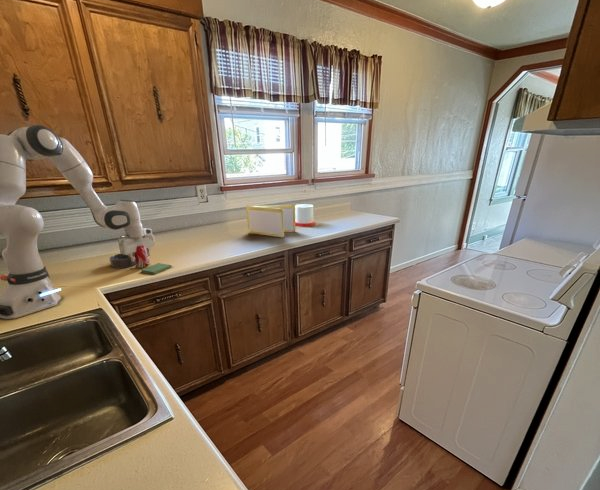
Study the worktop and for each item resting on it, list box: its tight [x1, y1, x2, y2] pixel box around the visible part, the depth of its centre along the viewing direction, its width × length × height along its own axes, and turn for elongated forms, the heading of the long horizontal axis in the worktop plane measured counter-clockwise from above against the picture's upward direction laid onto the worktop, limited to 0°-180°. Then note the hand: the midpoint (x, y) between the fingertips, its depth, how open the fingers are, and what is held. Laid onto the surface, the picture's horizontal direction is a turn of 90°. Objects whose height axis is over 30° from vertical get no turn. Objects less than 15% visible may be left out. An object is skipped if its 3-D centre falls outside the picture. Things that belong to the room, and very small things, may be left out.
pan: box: [108, 253, 136, 269], centre depth 179 cm, size 13×13×4 cm
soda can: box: [133, 244, 151, 269], centre depth 173 cm, size 7×7×12 cm
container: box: [294, 203, 315, 227], centre depth 264 cm, size 16×16×15 cm
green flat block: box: [140, 262, 172, 275], centre depth 171 cm, size 12×9×1 cm
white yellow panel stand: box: [245, 204, 296, 238], centre depth 232 cm, size 35×22×20 cm, turn 98°
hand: (141, 258), depth 174 cm, fingers open, 8 cm apart
